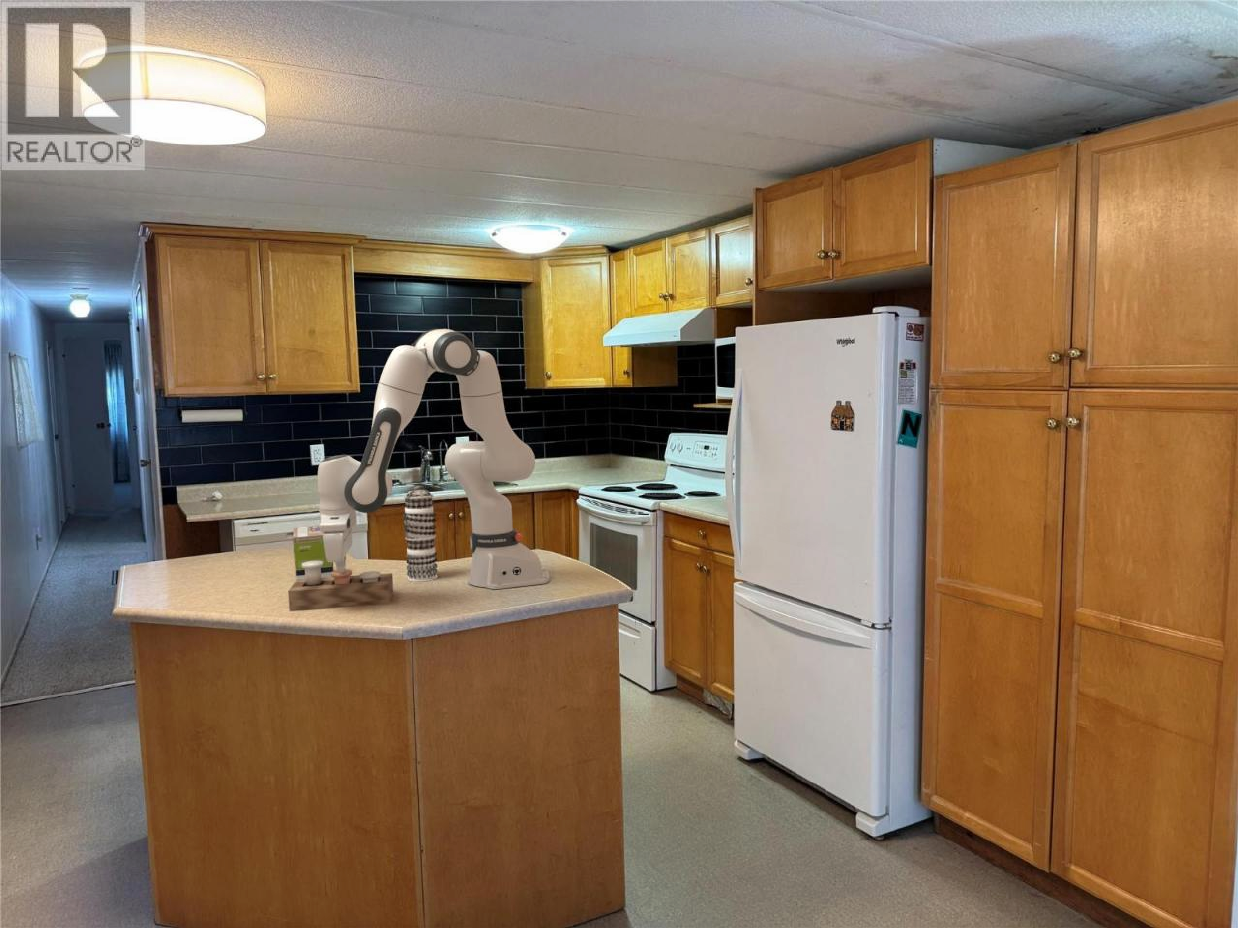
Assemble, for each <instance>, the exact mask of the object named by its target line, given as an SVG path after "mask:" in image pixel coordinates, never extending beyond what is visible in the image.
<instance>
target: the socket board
mask: <svg viewBox="0 0 1238 928" xmlns="http://www.w3.org/2000/svg"><path fill="white" fill-rule="evenodd" d="M359 575H360V574H357V575H350V584H336V585H335V584H334V577H323V578H321V582H322V583H320V584H317V585H306V580H305V579H298V580H297V581H295V582H294V583H293V584H292V585H291V587H290V588H289V590H288V592H287V593H288V605H289V607H288V608H289V611H304V610H305V611H306V610H318V609H320V610H321V609H330V608H331V609H332V608H345V607H347V608H348V607H362V606H374V605H375V606H376V605H389V604H390V603H391V599H392V596H393V593H394V581H393V573H391V572H390V573H380V575H381V576H380V577H379V578H378V582H367V583H363V579H360V576H359Z"/></svg>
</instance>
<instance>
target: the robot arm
mask: <svg viewBox="0 0 1238 928" xmlns="http://www.w3.org/2000/svg"><path fill="white" fill-rule="evenodd" d="M435 372H438V373H445V374H449V375H453V376H456V378H457V382H458V384H459V385H458V387H459V395H460V402H461V411H462V417H463V421H464V423H465V425H466V427H468V428H469V429H471V430H473V431H474V432H476V433H477V434H478V435H479V436H480V437H481V438H482V439H483V441H482V440H481V441H479V440H478V441H476V440H475V441H472V440H468V441H463V442H458V443H454V444H451V445H450V447H449V448H448V450H447V451H446V454H445V456H444V457H445V458H444V465H445V469H446V471H447V473H448V474H449V476H450V477H452V478H453V479H454V480H455V481H457V483H458V484H459V485H460V487H461V488H462V490H463V491H464V493H465V495H466V497H467V499H468V504H469V507H470V508H469V509H470V516H471V531H470V549H471V552H472V558H471V566H470V567H471V568H470V572H469V579H468V584H469V585H471V586H474V587H481V588H487V589H490V590H500V589H501V590H502V589H510V588H516V587H527V586H534V585H541V584H548V583H549V581H550V580H551V575H550V573H549V571H547V570H545V569H543V568H542V567H543V566H542V563H541V560H540V557H539V556H538V555H537V553H536V552H534V551H533V550H531V549H529V547H527V546H526V545H524V544H523V543H521V541H522V540H523V535H522V533H520V531H518V530H516V529H513V509H512V508H513V507H512V503H511V502H510V500H509V498H507V496H505V495H503V494H502V493H499V491H498V490H497V489H496V487H495V485H494V482H499V483H500V482H503V483H504V482H505V483H506V482H507V483H513V482H518V481H523V480H526V479H528V478H529V477H530V476H531V475H532V474H533V472H534V469H535V466H536V458H535V457H536V456H535V454H534V452H533V450H532V448H531V447H530V446H529V444H527V443H525V442H524V441H522V439H520V438H519V437H518V435H517V434H516V433H515V432H514V430H513V429H512V427H511V425H510V423H509V421H508V418H507V415H506V410H505V405H504V399H503V390H502V384H501V378H500V374H499V370H498V366H497V363H496V360H495V358H494V356H493V355H492V354H491V353H489V352H487V351H485V350H481V349H479V350H478V349H477V348H476V347H475V346H474V344H473V342H472V341H471V340H470V339H469V338H468V337H467V336H466V335H465V334H463V333H461V332H459V331H455V330H453V329H448V328H431V329H429V330H426V331H424V332H423V333H422V334H421V335H420V336H419V337H418V338H417V340H415V341H414V342H413V343H412V344H411V345H407V344H404V345H399V346H397V347H395V348H394V349H393V350H392V351H391V353H390V355H389V356H388V358H387V361H386V363H385V365H384V367H383V370H382V373H381V375H380V379H379V382H378V384H377V389H376V393H375V399H374V406H373V417H372V423H371V424H372V425H371V430H370V433H369V437H368V440H367V442H366V443H367V444H366V447H365V448H364V449H365V450H364V453H363V456H362V459H361V461H358V460H356V459H354V458H353V457H352V456H350V455H348V454H340V455H334V456H331V457H327V458H325V459H323V460H322V461H321V462H320V463H319V465H318V468H317V469H318V470H317V491H318V492H317V493H318V495H319V499H320V501H319V506H318V507H319V508H318V509H319V525H320V531H321V532H323V540H324V548H325V554H326V559H327V561H328V562H333V563H335V566H336V570H337V573H343V572H344V571H345V569H347V568H346V562H347V561H346V560H347V555H348V553H349V551H350V550H351V548H352V546H353V535H352V534H353V533H352V531H353V529H352V527H353V526H356V525H357V512H359V513H362V514H367V513H369V514H371V513H374V512H376V511H378V510H379V509H381V508H382V506H383V505H385V503H386V500H387V499H388V497H389V496H390V494H391V492H392V491H393V488H394V487H393V486H394V485H393V484H394V483H393V479H392V476H391V475H390V474H389V472H387V471H388V468H389V464H390V461H391V457H392V454H393V451H394V449H395V445H396V443H397V440H398V438H399V437H400V434H401V433H402V432H403V431H404V429H405V428H406V427H407V426H408V425H409V423H410V422H411V421H412V420H413V418H414V416H415V415H416V413H417V410H418V408H419V405H420V404H421V400H422V397H423V393H424V391H425V386H426V383H427V381H428V379H429V378H430V377H431V375H432V374H433V373H435Z"/></svg>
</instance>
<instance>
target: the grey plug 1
mask: <svg viewBox="0 0 1238 928" xmlns="http://www.w3.org/2000/svg"><path fill="white" fill-rule="evenodd" d="M321 566H323V561H307V562H304V563H302V568H305V580H306V585H317V584H320V583H322V582H321Z"/></svg>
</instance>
